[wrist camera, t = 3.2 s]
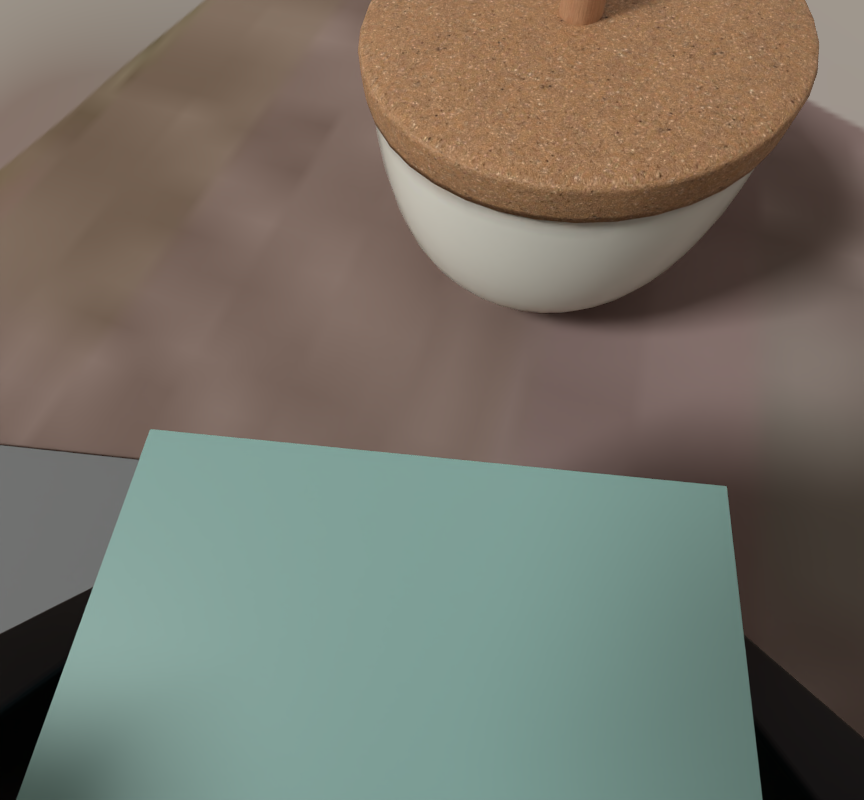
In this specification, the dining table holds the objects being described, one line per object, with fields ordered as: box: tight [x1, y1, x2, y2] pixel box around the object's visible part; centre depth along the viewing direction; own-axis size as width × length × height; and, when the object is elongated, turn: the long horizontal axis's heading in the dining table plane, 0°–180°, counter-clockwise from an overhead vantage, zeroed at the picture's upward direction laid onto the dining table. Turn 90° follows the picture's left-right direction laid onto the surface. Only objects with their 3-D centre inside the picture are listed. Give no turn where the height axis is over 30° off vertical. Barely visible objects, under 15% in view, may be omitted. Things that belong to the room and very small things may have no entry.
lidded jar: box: [358, 0, 819, 313], centre depth 14 cm, size 11×11×9 cm
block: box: [16, 429, 763, 800], centre depth 8 cm, size 4×5×11 cm
